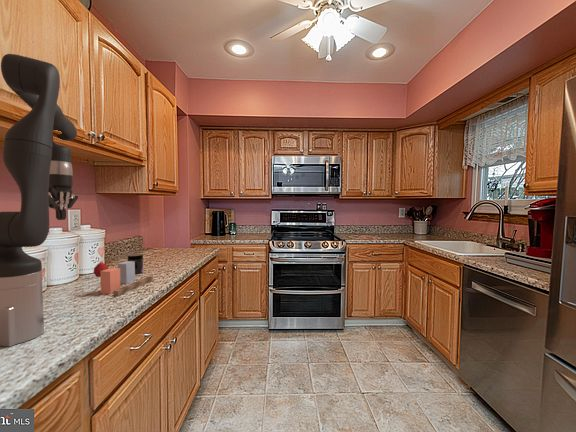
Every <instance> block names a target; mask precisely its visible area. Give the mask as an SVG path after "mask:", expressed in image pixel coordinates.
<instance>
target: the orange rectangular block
mask: <svg viewBox="0 0 576 432" xmlns="http://www.w3.org/2000/svg"><path fill="white" fill-rule="evenodd" d="M99 277H100V294H103V295H111V294H112V295H113V291H115V290H117V289H119V288H122V286H121V284H120V268H118V267H117V268H116V267H110V268H109V269H106V270H103V271H100V276H99Z"/></svg>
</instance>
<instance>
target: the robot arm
mask: <svg viewBox="0 0 576 432" xmlns="http://www.w3.org/2000/svg"><path fill="white" fill-rule="evenodd" d="M0 71H1V75H2V76H1V77H2V78H3V80H4V82H5V83H6V84H7V87H9V88H10V89H11V90H12V92H13V93H14V94H15V95H17V96H18V97H19V98H20V99H21V100H22V101H23V102H24V103H25V104H27V106H28V107H29V108H31V110H30V111H29V112H28V113H27V114H26V115H24V116H23V117H22V118H20V120H18V121H17V122H15V123H14V124H13V125H11V127H10V128H9V129H8V130H7V131H6V132H5V135H4V141H3V150H2V152H3V153H2V160H3V163H4V165H5V167H6V169H7V171H8V172H9V174H10V176H11V177H12V179H13V180H14V181H15V183H16V185H17V186H18V188H19V191H20V198H21V199H20V210H19V211H0V347H12V346H14V345H18V344H22V343H26V342H28V341H30V340H34V339H36V338H37V337H39V336H41V335H43V333H44V332H45V321H44V319H45V318H44V295H43V294H44V291H43V290H44V289H43V288H44V287H43V263H42V261H41V259H39V258H37V257H34V256H33V255H32V256H31V255H29V254H28V253H27V252H25V251H24V250H23V248H33V247H38V246H41V245H42V244H43V243H45V241H46V240H47V238H48V237H49V236H48V235H49V233H50V231H49V230H50V209H53V210H55V218H56V220H58V221H64V220H66V219H67V210H69V209H72V207H73V206H74V204H75V203H76V202H77V201H78V199H79V195H75V194H74V193H73V192H74V191H73V190H72V188H73V187H74V180H73V179H74V178H73V177H74V175H73V165H72V150H71V149H70V147H67V146H64V145H60V144H56V143H55V141H54V142H53V140H54V139H53V130H58V131H61V132H62V134H60V135H57V137H58V138H60V139H62V140H61V141H73V140H75V139H77V136H78V131H77V128H76V126H75V124H74V123H73V122H72V121H71V120H70V119H68V117H66V116H65V115H64V113H63V110H62V108H61V107H60V106H59V104H58V99H59V92H60V87H61V78H60V73H59V69H58V67H56V66H55V65H54V64H53V63H50V62H47V61H44V60H40V59H36V58H32V57H28V56H23V55H20V54H15V53H14V54H13V53H7V54H4V55H3V56H2V58H1V62H0Z"/></svg>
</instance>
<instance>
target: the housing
mask: <svg viewBox="0 0 576 432" xmlns="http://www.w3.org/2000/svg"><path fill="white" fill-rule="evenodd" d="M153 278H154V277H153V276H146V277H144V278H141V279H139V280H135V281H133V282H131V283H128V284H126V285H125V286H121V288H119V289H117V290H115V291H113V293H112V296H113V297H119V296H122V295H124V294H126V293H129V292H132V291H133V290H136V289H137V288H140V287H142V286H144V285H146V284H149V283H150V282H151V283H152V281H153V282H154V279H153Z"/></svg>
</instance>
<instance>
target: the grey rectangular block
mask: <svg viewBox="0 0 576 432" xmlns="http://www.w3.org/2000/svg"><path fill="white" fill-rule="evenodd" d="M117 268H120V285H122V284H123V285H129V284H131V283H134V282H136V275H135V262H133V261H127V260H126V261H122V262H119V263H117Z"/></svg>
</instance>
